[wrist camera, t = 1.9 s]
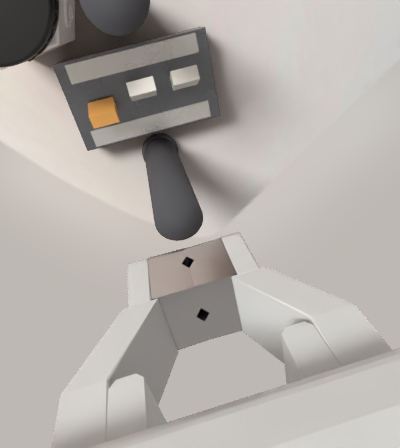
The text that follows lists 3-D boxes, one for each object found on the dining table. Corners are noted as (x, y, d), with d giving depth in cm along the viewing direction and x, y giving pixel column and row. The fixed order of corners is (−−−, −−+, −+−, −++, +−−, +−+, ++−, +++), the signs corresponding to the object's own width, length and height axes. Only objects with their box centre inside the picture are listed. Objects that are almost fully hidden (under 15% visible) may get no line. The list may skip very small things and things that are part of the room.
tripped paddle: (112, 96, 31) (115, 110, 29) (117, 107, 32) (119, 122, 30) (87, 103, 31) (88, 117, 29) (92, 114, 32) (93, 128, 30)
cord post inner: (133, -24, 30) (140, -64, 16) (146, 28, 32) (162, 30, 18) (89, -13, 29) (59, -45, 16) (105, 38, 31) (91, 48, 18)
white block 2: (194, 71, 31) (196, 64, 29) (197, 84, 32) (200, 78, 29) (169, 77, 31) (170, 71, 29) (173, 90, 32) (173, 85, 29)
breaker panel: (198, 27, 32) (205, 27, 30) (213, 109, 37) (220, 115, 34) (58, 62, 32) (52, 66, 29) (90, 142, 36) (87, 151, 33)
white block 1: (153, 82, 31) (152, 75, 29) (156, 95, 32) (156, 90, 29) (128, 88, 31) (125, 82, 29) (132, 101, 31) (130, 97, 29)
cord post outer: (172, 129, 37) (199, 189, 24) (180, 162, 39) (210, 234, 26) (137, 138, 37) (145, 204, 23) (148, 171, 39) (160, 248, 26)
